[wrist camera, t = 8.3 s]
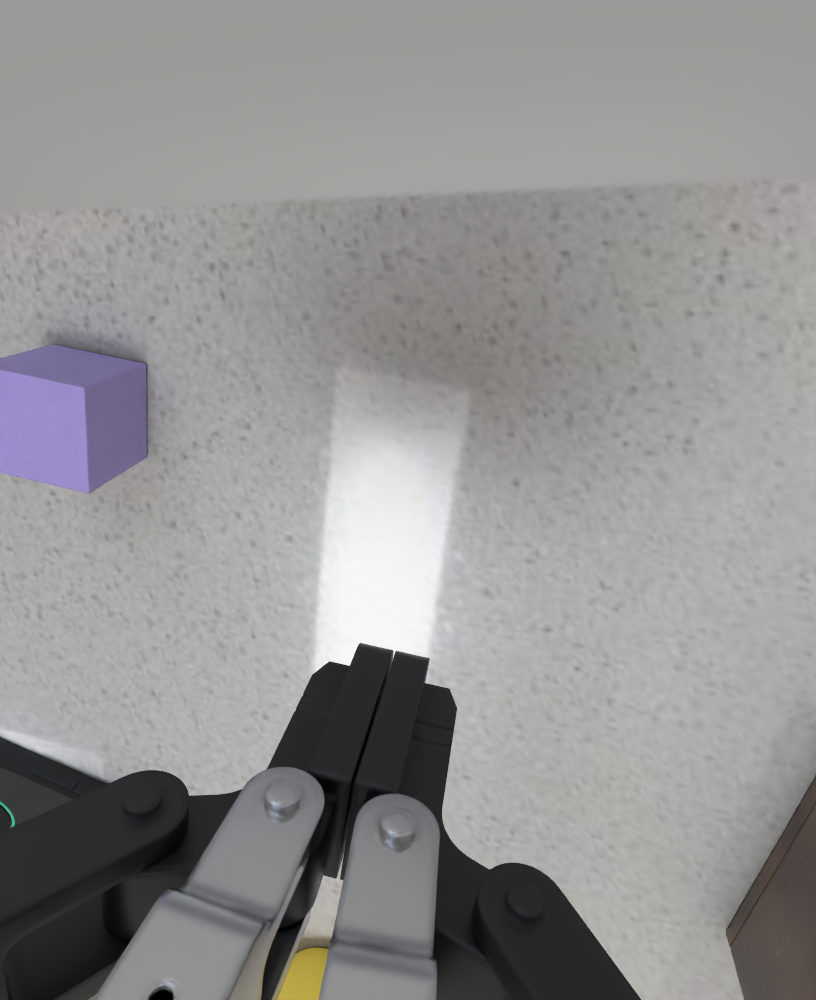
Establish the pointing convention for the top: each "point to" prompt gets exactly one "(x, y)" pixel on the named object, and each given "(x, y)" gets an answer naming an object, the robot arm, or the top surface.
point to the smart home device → (35, 785)
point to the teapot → (305, 975)
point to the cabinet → (781, 917)
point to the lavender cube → (71, 416)
